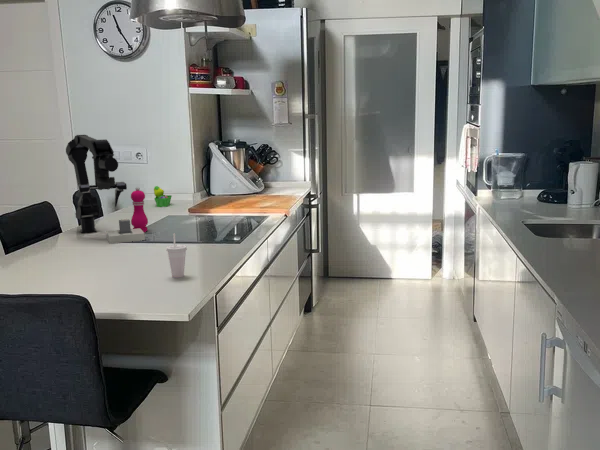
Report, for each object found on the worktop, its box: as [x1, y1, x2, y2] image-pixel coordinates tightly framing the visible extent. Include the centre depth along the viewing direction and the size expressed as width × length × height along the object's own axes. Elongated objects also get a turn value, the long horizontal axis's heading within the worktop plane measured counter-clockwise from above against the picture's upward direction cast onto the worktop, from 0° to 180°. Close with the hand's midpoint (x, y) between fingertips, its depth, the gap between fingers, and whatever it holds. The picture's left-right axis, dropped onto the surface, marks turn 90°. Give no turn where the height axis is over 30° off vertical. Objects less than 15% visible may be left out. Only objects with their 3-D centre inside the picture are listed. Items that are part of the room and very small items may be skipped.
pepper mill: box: [130, 186, 149, 233], centre depth 264 cm, size 7×7×20 cm
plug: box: [118, 218, 132, 234], centre depth 249 cm, size 4×4×9 cm
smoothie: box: [166, 233, 188, 279], centre depth 191 cm, size 6×6×14 cm
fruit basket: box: [153, 185, 173, 208], centre depth 339 cm, size 11×9×11 cm
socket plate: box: [105, 228, 146, 244], centre depth 250 cm, size 12×14×3 cm
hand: (104, 207), depth 251 cm, fingers open, 9 cm apart
